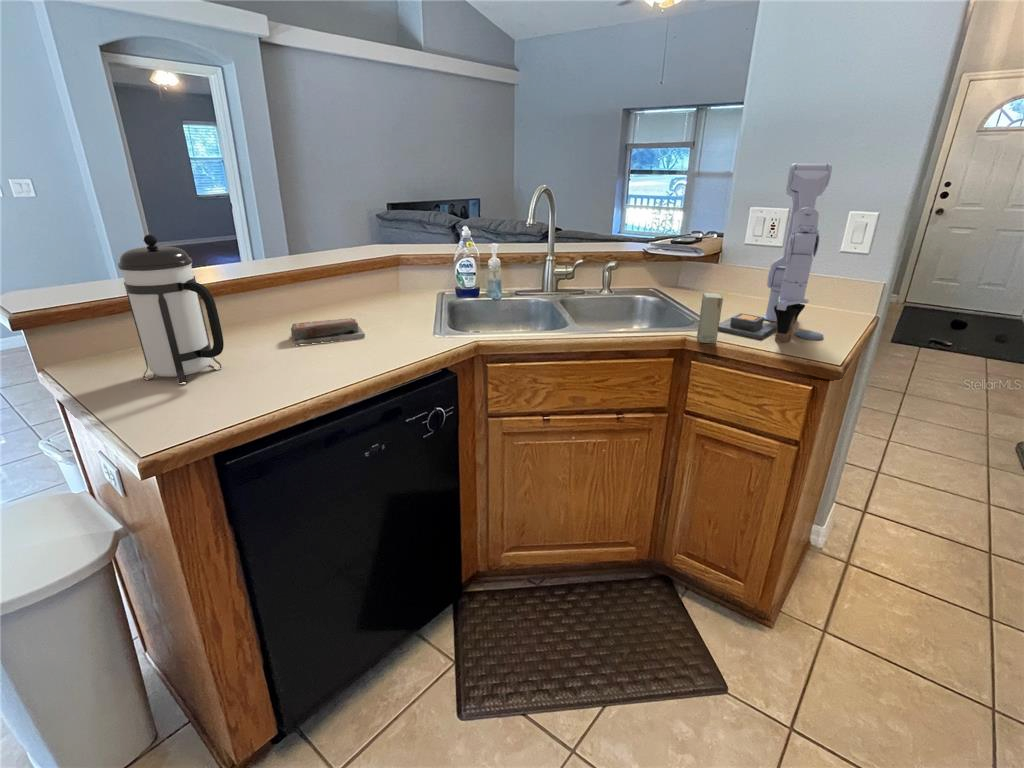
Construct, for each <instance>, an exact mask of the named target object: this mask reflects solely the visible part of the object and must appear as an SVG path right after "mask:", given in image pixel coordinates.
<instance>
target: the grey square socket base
mask: <svg viewBox="0 0 1024 768" xmlns="http://www.w3.org/2000/svg"><path fill="white" fill-rule="evenodd" d="M741 315H749V316H754V317H759V318H758V319H756V320H754V321H752V320H746V319H741V318H737V317H739V316H741ZM764 320H765V319H764V317H762V316H759V315H753V314H748V313H742V312H740V313H738V314H735V315H734V316H732V317H729V318H728V319H726V320H724V321H722V322H719V328H718V330H720V331H719V332H722V331H724V332H723V333H727V332H728V333H727V334H731V335H736V334H737V336H742V337H747V338H750V339H751V338H753V339H756V340H759V341H760V340H762V339H764V338H766V337H767V336H768V335H770V334H772V333H774V332H775V331H777V324H773V323H766V322H764Z"/></svg>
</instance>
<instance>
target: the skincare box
mask: <svg viewBox="0 0 1024 768" xmlns="http://www.w3.org/2000/svg"><path fill="white" fill-rule="evenodd" d="M723 300H724V297H723V296H722V295H721V294H720V293H714V292H703V293H702V299H701V306H700V313H699V321H698V327H697V335H696V337H697V340H698V342H699V343H703V344H704V343H706V344H717V341H718V335H719V334H718V333H719V331H718V328H719V323H721V322H720V321H721V313H722V308H723Z"/></svg>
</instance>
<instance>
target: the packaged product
mask: <svg viewBox="0 0 1024 768" xmlns="http://www.w3.org/2000/svg"><path fill="white" fill-rule="evenodd" d="M290 331H291V333H290V336H291V339H292V341H293V345H300V344H312V343H321V342H330V343H332V342H331V341H338V342H341V341H340V340H346V341H351V340H350V339H354V340H358V339H357V338H361V339H365V338H366V337H365V336H366V333H365V332H364V331H363V330H362V328H361V327H360V326H359V323H358V321H357V319H356V318H350V317H348V318H339V319H326V320H317V321H307V322H296V323H292V327H290ZM364 337H365V338H364ZM321 344H322V343H321ZM312 345H313V344H312Z"/></svg>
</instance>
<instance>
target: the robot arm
mask: <svg viewBox="0 0 1024 768" xmlns="http://www.w3.org/2000/svg"><path fill="white" fill-rule="evenodd" d="M832 170H833V165H832V164H831V163H830V162H828V163H795V162H794V163H792V164H791V165H790V167H789V171H788V177H787V181H786V182H787V184H786V188H785V190H786V193H785V194H786V195H787V196H789V197H791V200H792V207H791V211H790V217H789V223H788V228H787V233H786V238H785V239H786V240H785V243H784V249H783V255H781V256H780V257H778V258H776V259H774V260H773V261H772V262H771V264H770V268H769V271H768V274H767V281H766V286H767V288H768V289H770V291H769V297H768V302H767V307H766V312H765V314H764V315H762V316H761V317H764V320H765V321H770V322H776V325H777V330H776V332H777V331H778V333H782V334H786V333H787V332H788V330H789V327H790V324H791V322H792V320H793V318H794V316H795V315H796V316H795V321H794V325H793V327H794V326H795V323H796V321H797V319H798V318H799V315H800V314H801V312H802V311H803V310H804V309H805V307H806V304H808V303H809V300H810V299H806V298H805V295H806V291H807V286H808V282H809V278H810V273H811V268H812V263H813V261H814V258H815V257H816V255H817V253H818V250H819V246H820V230H818V226H819V215H820V214H819V211H818V210H817V209H816V207H815V205H816V202H817V197H819V196H822V195H823V193H824V192H825V190H826V189H827V187H828V186H829V183H830V180H831V176H832Z"/></svg>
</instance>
